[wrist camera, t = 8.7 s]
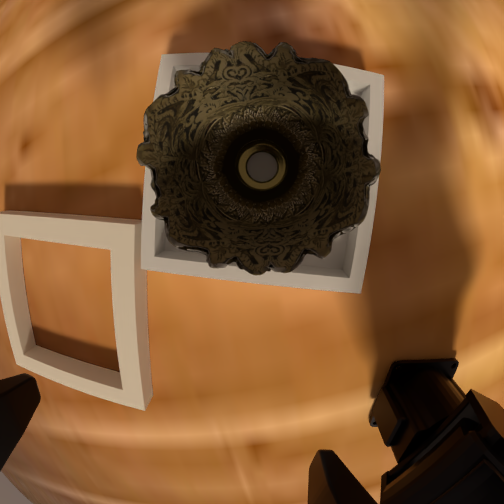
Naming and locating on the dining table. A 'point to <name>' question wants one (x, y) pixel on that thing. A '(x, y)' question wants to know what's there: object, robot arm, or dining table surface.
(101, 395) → the white flat square frame
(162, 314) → the dining table surface
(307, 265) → the grey tray
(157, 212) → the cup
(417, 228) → the dining table surface
